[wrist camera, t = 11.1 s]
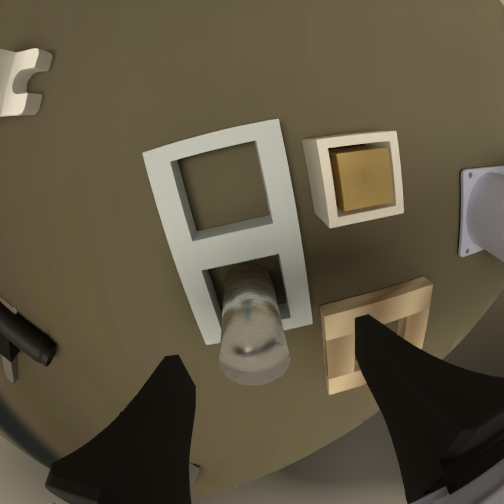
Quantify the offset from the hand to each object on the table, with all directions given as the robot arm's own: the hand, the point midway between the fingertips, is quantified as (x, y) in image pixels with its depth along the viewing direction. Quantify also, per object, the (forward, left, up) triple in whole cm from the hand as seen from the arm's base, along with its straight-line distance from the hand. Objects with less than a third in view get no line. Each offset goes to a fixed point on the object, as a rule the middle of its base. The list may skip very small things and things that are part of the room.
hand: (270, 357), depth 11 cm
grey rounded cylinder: (+1, +2, -10) cm, 10 cm away
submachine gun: (+33, +2, -11) cm, 35 cm away
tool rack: (+1, -2, -10) cm, 10 cm away
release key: (-7, -5, -9) cm, 13 cm away
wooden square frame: (-9, +10, -10) cm, 17 cm away
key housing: (-7, -5, -10) cm, 13 cm away
